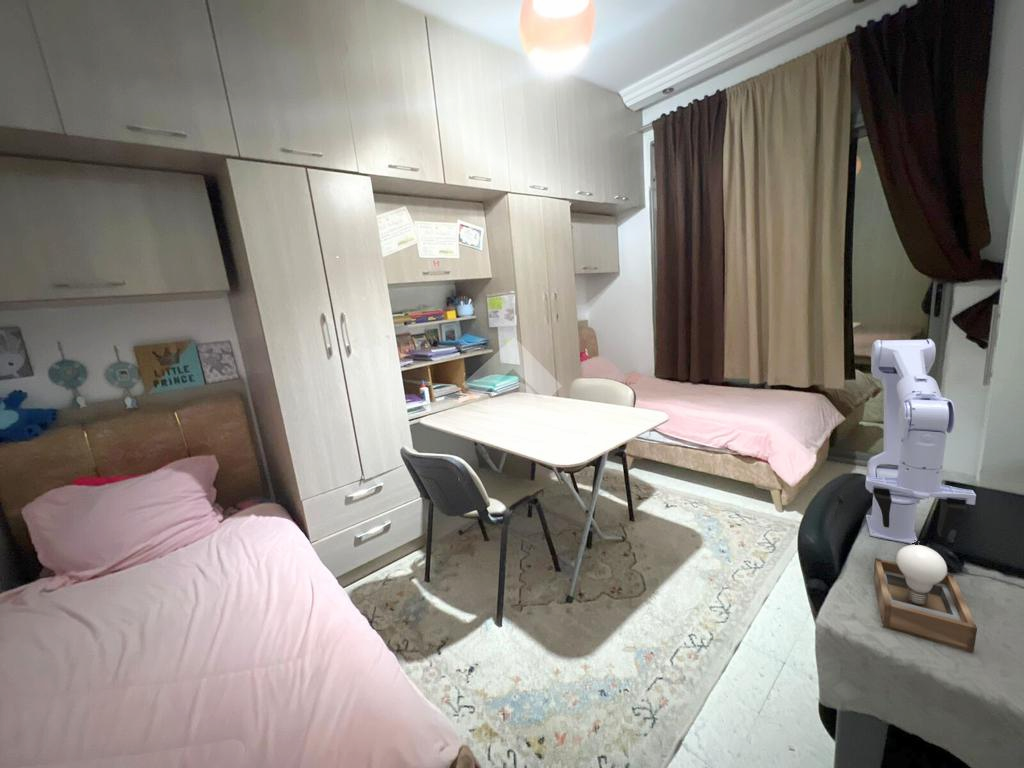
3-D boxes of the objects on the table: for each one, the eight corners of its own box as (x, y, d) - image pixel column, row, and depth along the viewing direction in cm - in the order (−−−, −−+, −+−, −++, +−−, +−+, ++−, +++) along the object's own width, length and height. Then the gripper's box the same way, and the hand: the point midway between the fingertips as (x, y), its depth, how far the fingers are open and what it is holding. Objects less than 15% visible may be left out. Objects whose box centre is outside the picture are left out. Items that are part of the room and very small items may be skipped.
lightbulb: (950, 618, 71) (959, 561, 68) (904, 612, 73) (910, 557, 70) (927, 592, 76) (934, 539, 74) (885, 587, 78) (890, 535, 76)
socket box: (873, 578, 82) (875, 557, 81) (949, 596, 76) (952, 574, 75) (882, 627, 71) (885, 604, 70) (973, 653, 65) (977, 628, 64)
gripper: (870, 465, 77) (865, 530, 80) (985, 478, 69) (974, 551, 72) (866, 451, 83) (861, 513, 86) (972, 462, 74) (962, 530, 77)
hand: (912, 529), depth 79 cm, fingers open, 7 cm apart
